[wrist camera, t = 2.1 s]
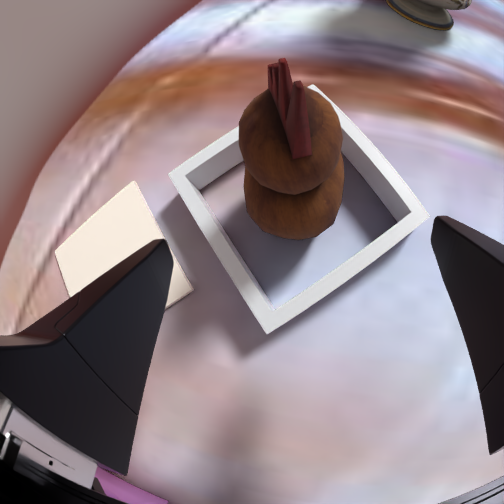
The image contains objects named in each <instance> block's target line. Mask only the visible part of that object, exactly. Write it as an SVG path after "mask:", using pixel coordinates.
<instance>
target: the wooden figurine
mask: <svg viewBox="0 0 504 504" xmlns="http://www.w3.org/2000/svg"><path fill="white" fill-rule="evenodd" d="M342 143H343V135H342V130H341V125H340V121H339V117H338V115H337V113H336V111H335V110H334V108H333V106H332V105H331V103H330V102H329V101H328V100H327V99H325V98H324V97H323V96H322V95H321V94H320V93H319V92H316V91H314V90H312V89H310V88H308V87H305V86H303V84H302V82H301V81H295V82H294V83H292V79H291V75H290V71H289V67H288V64H287V61H286V59H285V58H282V59H279V63H274V64H270V65H268V89H267V90H266V91H264V92H263V93H261V94H260V95H258V96H257V97H255V98H254V99H253V100H252V101H251V103H250V104H249V105H248V106H247V108H246V109H245V110H244V112H243V115H242V117H241V119H240V121H239V148H240V151H241V154H242V157H243V160H244V163H245V177H244V193H245V201H246V208H247V213H248V214H249V216H250V217H251V218H252V219H253V220H254V222H255V223H256V224H257V225H258V226H259V227H260V228H261V229H262V231H264V232H267V233H270V234H273V235H276V236H278V237H281V238H287V239H296V240H301V239H307V238H312V237H317V236H318V235H319V234H321V233H322V232H323V231H325V230H326V229H327V228H329V227H330V226H331V225H333V224H334V221H335V218H336V216H337V213H338V210H339V208H340V205H341V202H342V194H343V186H344V162H343V158H342V154H341V148H342Z"/></svg>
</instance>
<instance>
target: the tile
mask: <svg viewBox="0 0 504 504" xmlns="http://www.w3.org/2000/svg"><path fill="white" fill-rule="evenodd" d="M155 239H165V237H164V235H163V233H162V231H161V230H160V228H159V226H158V224H157V222H156V220H155V218H154V216H153V214H152V212H151V210H150V208H149V207H148V205H147V203H146V201H145V199H144V197H143V195H142V193H141V191H140V189H139V187H138V185H137V183H136V182H135V181H132V182H131V183H130V184H129V185H127V186H126V187H125V188H124V189H122V190H121V191H120V192H119V193H118V194H116V195H115V196H114V197H113V198H112V199H111V200H109V201H108V202H107V203H106V204H105V205H104V206H102V207H101V208H100V209H99V210H98V211H97V212H96V213H94V214H93V215H92V216H91V217H90V218H89V219H88V220H87V221H86V222H85V223H83V224H82V225H81V226H80V227H79V228H78V229H77V230H76V231H75V232H74V233H73V234H72V235H71V236H70V237H69V238H68V239H67V240H66V241H65V242H64V243H63V244H62V245H61V246H60V247H59V248H58V249H57V250H56V251H55V254H56V257H57V261H58V264H59V267H60V270H61V273H62V276H63V279H64V282H65V285H66V287H67V290H68V293H69V295H70V297H72V296H73V295H75V294H76V293H77V292H79V291H81V289H83V288H84V287H86V286H87V285H88V284H90V283H91V282H92V281H94V280H95V279H97V278H98V277H99V276H101V275H102V274H104V273H105V272H107V271H108V270H109V269H111V268H112V267H114V266H115V265H117V264H118V263H120V262H121V261H122V260H124V259H125V258H127V257H128V256H130V255H131V254H133V253H134V252H136V251H137V250H139V249H140V248H142V247H143V246H145V245H146V244H148V243H149V242H151V241H152V240H155ZM165 240H166V239H165ZM168 245H169V244H168ZM169 248H170V246H169ZM170 251H171V254H172V256H173V260H174V266H173V271H172V277H171V282H170V288H169V294H168V299H167V303H166V307H165V309H167V308H168V307H170V306H171V305H173V304H174V303H176V302H177V301H179V300H180V299H182V298H183V297H185V296H186V295H187V294H189V293H190V292H192V291H193V290H194V289H193V287H192V285H191V284H190V282H189V280H188V278H187V277H186V275H185V273H184V271H183V270H182V268H181V266H180V264H179V263H178V261H177V259H176V257H175V255H174V254H173V252H172V250H171V248H170Z"/></svg>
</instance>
